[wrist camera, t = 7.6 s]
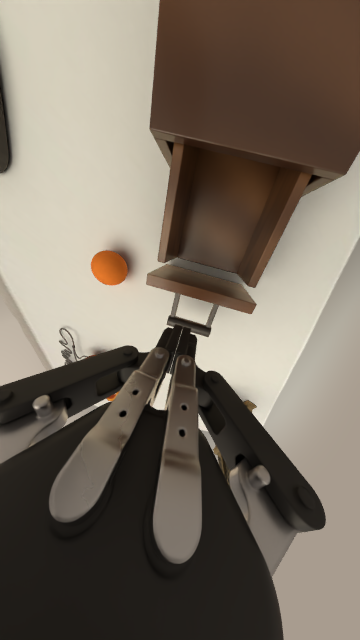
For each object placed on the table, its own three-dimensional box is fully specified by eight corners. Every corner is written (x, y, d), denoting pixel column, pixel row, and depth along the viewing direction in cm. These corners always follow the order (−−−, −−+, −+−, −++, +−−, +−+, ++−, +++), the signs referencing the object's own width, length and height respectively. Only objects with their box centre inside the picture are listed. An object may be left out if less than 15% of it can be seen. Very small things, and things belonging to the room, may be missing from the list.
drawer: (223, 324, 25) (229, 355, 18) (159, 305, 25) (141, 328, 18) (299, 157, 15) (377, 83, 8) (189, 132, 15) (172, 42, 8)
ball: (105, 277, 26) (84, 284, 21) (104, 246, 23) (80, 247, 19) (132, 284, 25) (116, 293, 21) (133, 254, 23) (116, 257, 19)
